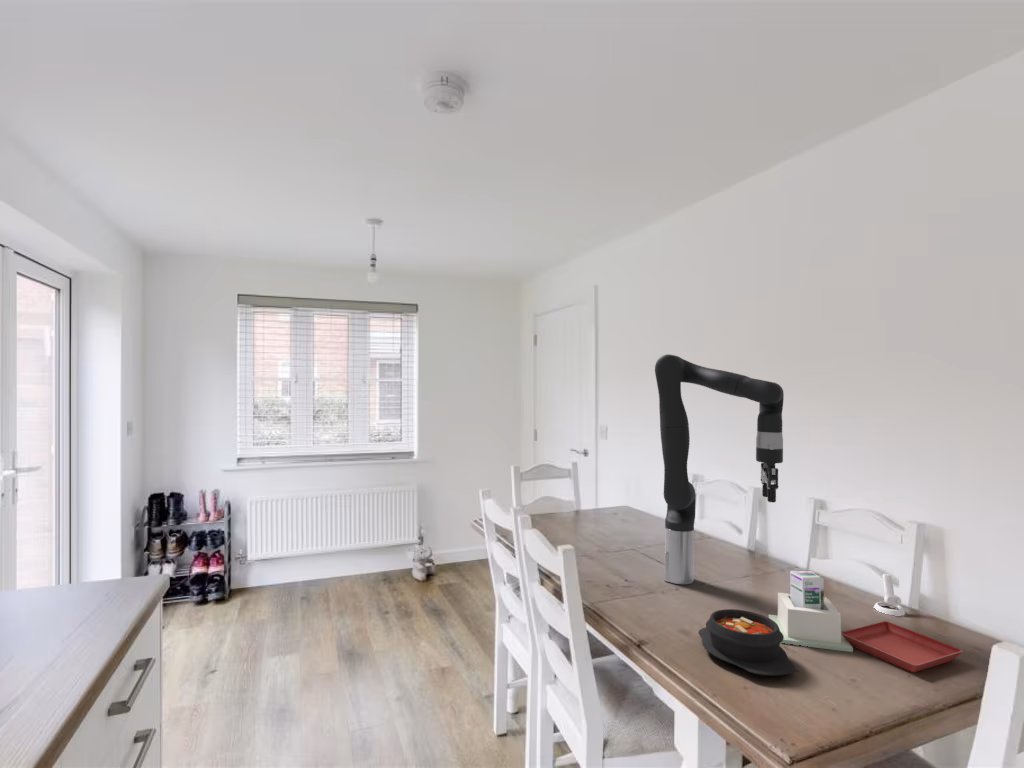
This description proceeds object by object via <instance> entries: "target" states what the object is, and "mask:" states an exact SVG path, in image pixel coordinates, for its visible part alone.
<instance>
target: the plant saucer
mask: <svg viewBox="0 0 1024 768" xmlns="http://www.w3.org/2000/svg"><path fill="white" fill-rule="evenodd" d="M841 634H842V636H843V637H844V638H845V639H846V640H847V641H848V642H849V644H850V645H851V646H852V647H853V648H856V649H859V650H860V651H862V652H864V653H867V654H868V655H869V654H870V655H871V656H874V657H876V658H879V659H881V660H882V661H885V662H887V661H888V663H889V662H890V663H889V664H892V665H894V664H895V665H894V666H896V665H897V667H898V666H899V667H898V668H900V667H901V669H903V668H904V669H903V670H905V669H906V670H905V671H907V670H908V672H909V671H911V672H910V673H918V672H920V670H921V671H924V670H927V669H930V668H933V667H936V666H939V664H940V665H942V663H943V664H945V663H949V662H951V661H952V660H955V658H957V657H958V656H960V655H961V654H962V653H963V650H962V649H960V648H958V647H956V646H954V645H950V644H948V643H944V642H942V641H940V640H937V639H935V638H933V637H930V636H927V635H925V634H922V633H919V632H916V631H914V630H911V629H909V628H907V627H904V626H900V625H898V624H895V623H892V622H891V621H887V620H883V621H879V622H875V623H871V624H867V625H862V626H858V627H855V628H850V629H847V630H843V631H841ZM926 668H927V669H926ZM923 669H924V670H923ZM917 671H918V672H917Z"/></svg>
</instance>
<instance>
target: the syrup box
mask: <svg viewBox="0 0 1024 768" xmlns="http://www.w3.org/2000/svg"><path fill="white" fill-rule="evenodd" d="M789 573H790V577H789V580H790V581H789V582H790V583H789V584H790V591H789V592H790V593H789V594H790V596H791V602H792V604H793V605H794V607H800V608H809V609H819V610H824V597H825V593H824V592H825V590H824V589H825V588H824V587H825V586H824V584H825V583H824V582H825V580H824V576H822V575H820V574H819V573H817V572H815V571H812V570H801V571H800V570H798V571H797V570H795V571H794V570H791V571H790V572H789Z"/></svg>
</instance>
